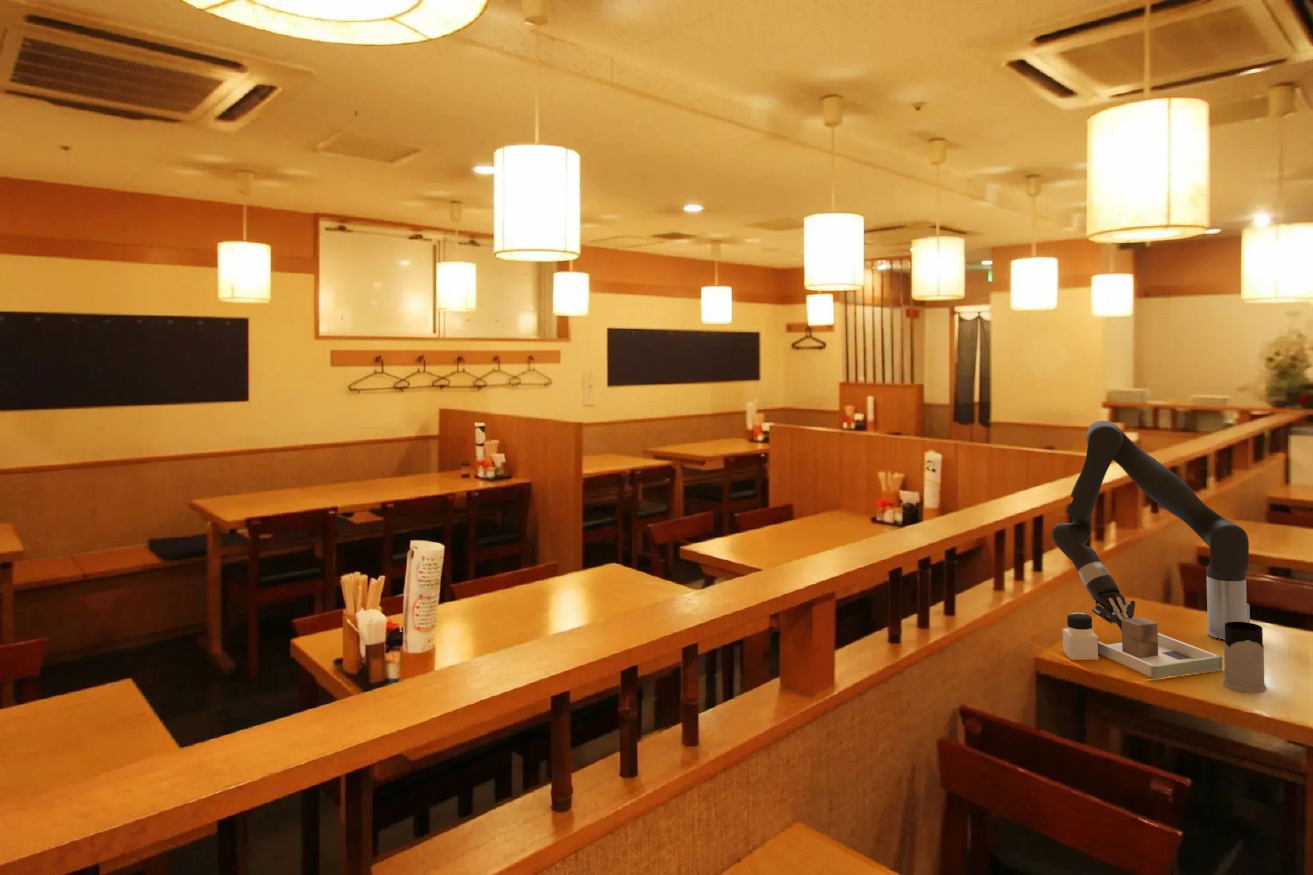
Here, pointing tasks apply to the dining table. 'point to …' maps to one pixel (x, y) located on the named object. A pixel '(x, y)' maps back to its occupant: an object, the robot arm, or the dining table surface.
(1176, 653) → the mat
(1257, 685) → the glass holder
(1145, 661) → the shallow white tray
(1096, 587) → the robot arm
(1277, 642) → the dining table surface
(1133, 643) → the walnut block
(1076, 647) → the medicine bottle
